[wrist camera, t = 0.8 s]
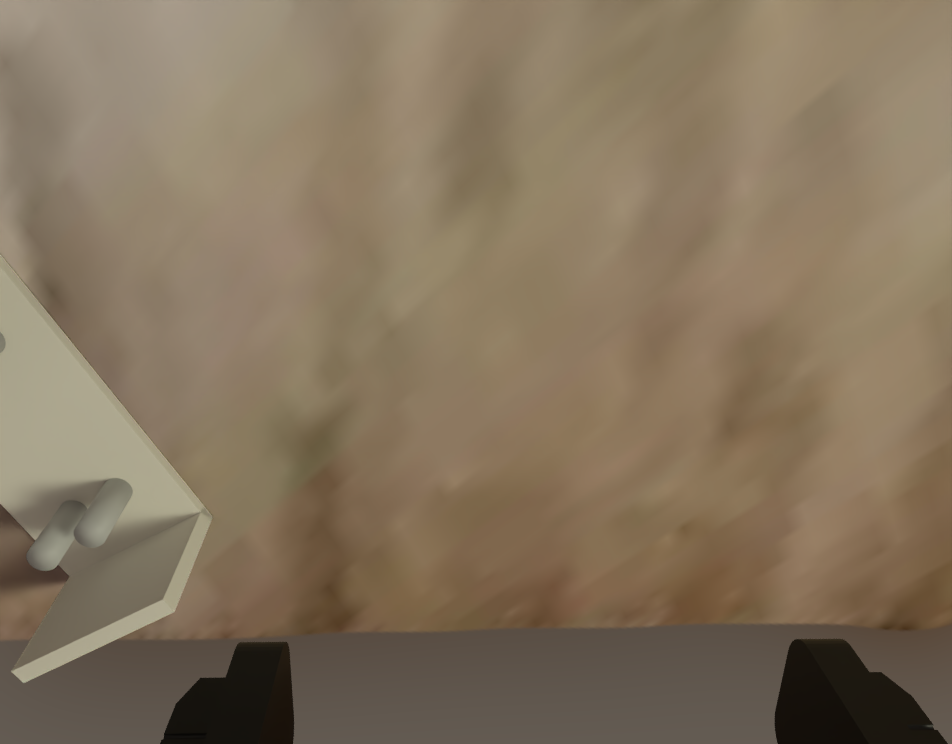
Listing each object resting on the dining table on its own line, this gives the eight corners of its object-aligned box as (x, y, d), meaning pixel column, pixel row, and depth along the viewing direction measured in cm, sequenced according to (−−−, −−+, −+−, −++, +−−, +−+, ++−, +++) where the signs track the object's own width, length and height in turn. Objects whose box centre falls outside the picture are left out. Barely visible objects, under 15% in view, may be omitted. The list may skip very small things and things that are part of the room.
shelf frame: (-162, 318, 35) (-291, 388, 29) (-16, 234, 34) (-117, 287, 28) (84, 579, 42) (23, 683, 35) (212, 516, 41) (174, 612, 34)
